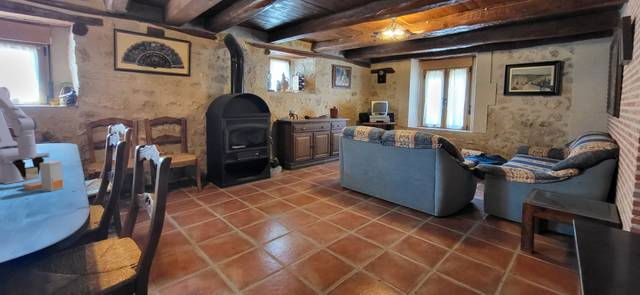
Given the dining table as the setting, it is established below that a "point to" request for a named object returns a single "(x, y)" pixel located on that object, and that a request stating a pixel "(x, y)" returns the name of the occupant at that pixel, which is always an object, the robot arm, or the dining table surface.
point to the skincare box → (51, 175)
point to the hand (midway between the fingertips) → (30, 175)
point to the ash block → (31, 173)
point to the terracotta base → (33, 186)
